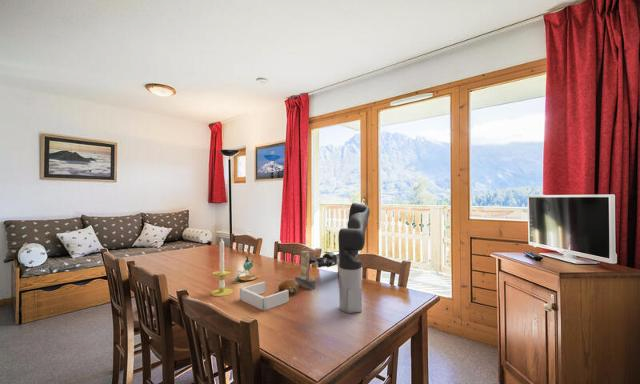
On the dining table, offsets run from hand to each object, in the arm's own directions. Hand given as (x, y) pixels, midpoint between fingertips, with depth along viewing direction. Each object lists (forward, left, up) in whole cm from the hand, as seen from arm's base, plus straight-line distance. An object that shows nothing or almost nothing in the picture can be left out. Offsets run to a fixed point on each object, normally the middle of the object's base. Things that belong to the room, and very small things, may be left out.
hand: (312, 264), depth 148 cm
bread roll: (-8, +14, -11) cm, 20 cm away
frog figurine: (+19, +33, -11) cm, 40 cm away
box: (-15, +26, -10) cm, 32 cm away
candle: (+1, +45, -11) cm, 47 cm away
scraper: (-3, +5, -11) cm, 12 cm away
